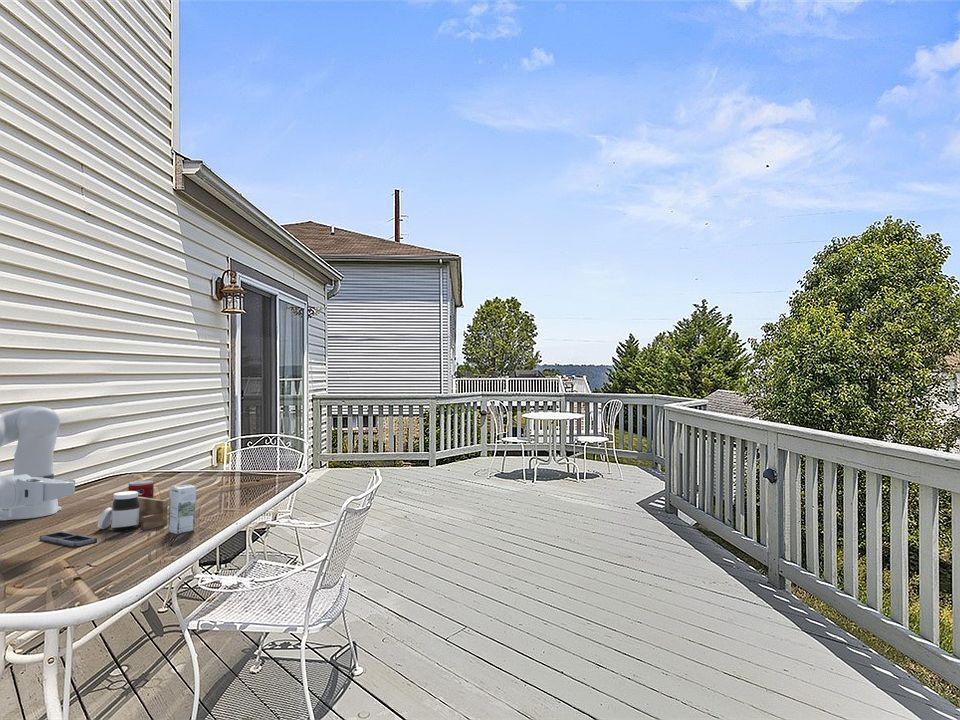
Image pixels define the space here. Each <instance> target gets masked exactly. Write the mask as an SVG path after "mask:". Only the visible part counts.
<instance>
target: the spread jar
mask: <svg viewBox="0 0 960 720" xmlns="http://www.w3.org/2000/svg"><path fill="white" fill-rule="evenodd" d="M109 525H110V529H111V531H112V532H116V533H118V532H120V533H122V532H129V531H132V530H137V528H139V526H140V522H139V499H138V492H137V491H128V490H126V491H119V492H115V493H113V501H112V504H111V507H107V508H105V510H103V511H102V513H101V514H100V517H99V519H98V521H97V528H98V529H100V530H105V529H106V528H107V527H108V526H109Z"/></svg>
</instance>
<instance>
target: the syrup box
mask: <svg viewBox="0 0 960 720" xmlns="http://www.w3.org/2000/svg"><path fill="white" fill-rule="evenodd" d="M196 499H197V487H196V486H195V485H192V484H183V485H175V486H171V487H169V501H168V502H169V505H168V526H167V527H168V533H172V534H173V535H174V534H175V535H181V534H185V533H190V532H194V531H195V528H196V527H195V525H196V522H195V521H196V502H197V500H196Z"/></svg>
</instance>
